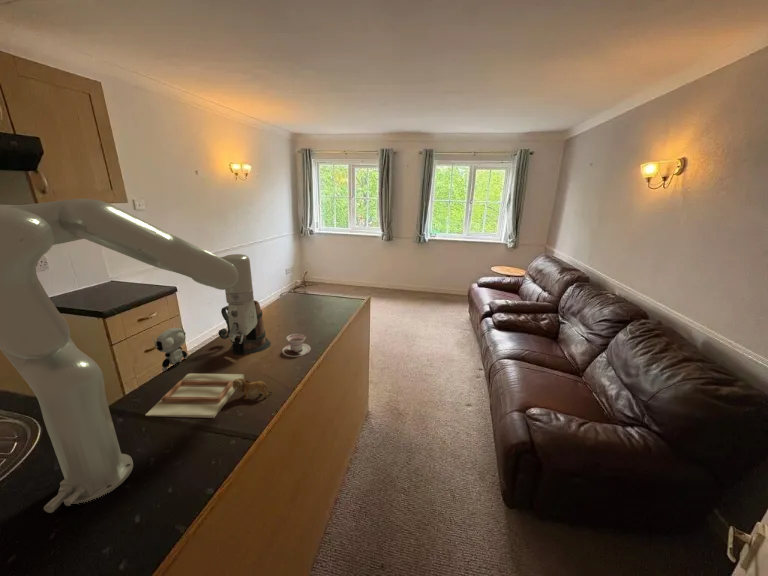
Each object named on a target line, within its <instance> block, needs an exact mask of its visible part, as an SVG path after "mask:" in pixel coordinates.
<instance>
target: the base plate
mask: <svg viewBox="0 0 768 576" xmlns="http://www.w3.org/2000/svg"><path fill="white" fill-rule="evenodd" d="M235 379H245V373H187V374H186V375H185V376H184V377H183V378H181V380H179V381H178V382H177V383H176V384H175V385H174V386H173V387H172V388H171V389H170V390H169V391H167V393H165V394H164V395H163V396H162V397H161V399H160V400H159V401H158V402H157V403H155V405H154V406H153V407H151V409H150V410H148V412H147V413H145V417H166V418H167V417H170V418H171V417H173V418H175V417H176V418H202V419H203V418H207V419H210V418H211V419H214V418H215V417H216V416H217V415H218V413H219V412H220V411H221V409H222V408H223V407H224V405H226V403H227V402H228V401H229V399H230V398H231V397H232V395H233V394H234V393H235V389H233V381H234V380H235Z"/></svg>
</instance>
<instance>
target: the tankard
mask: <svg viewBox="0 0 768 576" xmlns="http://www.w3.org/2000/svg"><path fill="white" fill-rule="evenodd" d="M254 303H255V308H256V314H257V325H256V336H257V339H256V340H247V339H246V335H243V341H242V342H244V348H245V354H246V355H250V354H255V353H260V352H262V351H265V350H267V349H268V348H269V347H271V345H272V342H271V341H270V340H269V339H268V338H267V337H266V334H267V333H266V330H265V326H264V320H263V318H264V317H263V314H264V313H263V310H262V309H261V305H260V302H259V301H257V300H255V299H254ZM220 313H221V316H222V317H223V318H222V319H224V321H225V322H226V327H227V328H222V329H220V330H219V331H218V336H219V338H221V339H222V340H227V339H228V338H229V333H230V327H229V315H228V305H226V306H224V307H222V308H221V312H220ZM236 333H241V332H236ZM236 337H237V338H238V339H239V338H240V336H236ZM229 351H233V345H231V346H230V348H229ZM245 354H244V355H245Z"/></svg>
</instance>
